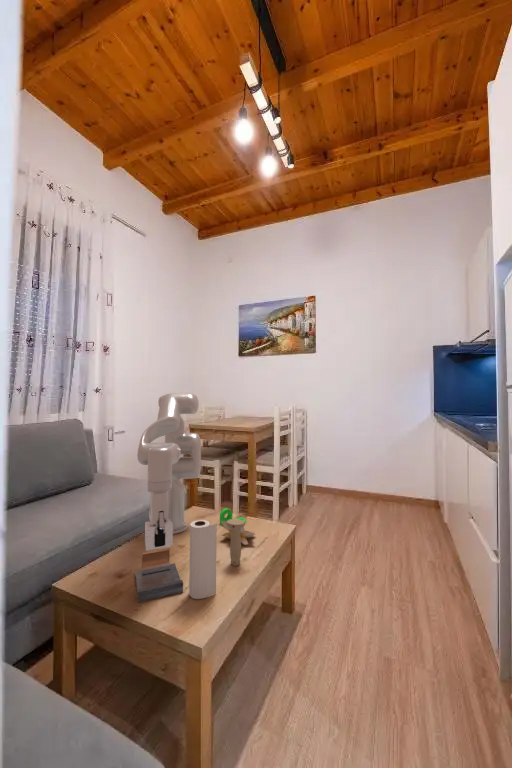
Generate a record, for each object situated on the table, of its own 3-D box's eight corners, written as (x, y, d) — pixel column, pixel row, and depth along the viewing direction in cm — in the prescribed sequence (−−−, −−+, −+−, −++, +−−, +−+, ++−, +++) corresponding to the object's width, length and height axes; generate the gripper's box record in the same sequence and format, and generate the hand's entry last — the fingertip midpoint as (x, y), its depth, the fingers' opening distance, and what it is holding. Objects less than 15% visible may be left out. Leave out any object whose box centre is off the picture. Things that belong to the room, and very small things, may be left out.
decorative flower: (263, 540, 136) (263, 516, 136) (249, 551, 126) (249, 525, 126) (232, 532, 143) (233, 509, 144) (217, 543, 133) (218, 518, 134)
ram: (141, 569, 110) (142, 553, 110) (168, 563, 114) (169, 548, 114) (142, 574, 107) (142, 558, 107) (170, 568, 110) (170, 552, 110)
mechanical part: (226, 531, 145) (226, 513, 146) (219, 526, 150) (219, 509, 150) (248, 525, 152) (248, 508, 152) (241, 521, 157) (241, 504, 157)
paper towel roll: (185, 594, 99) (185, 523, 99) (199, 585, 104) (200, 517, 104) (201, 604, 94) (202, 529, 95) (216, 594, 99) (216, 523, 100)
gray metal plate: (135, 575, 109) (135, 566, 109) (174, 567, 114) (174, 558, 114) (138, 602, 95) (138, 592, 95) (183, 592, 100) (183, 582, 100)
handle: (229, 559, 120) (229, 518, 120) (245, 562, 118) (246, 520, 119) (224, 566, 115) (225, 523, 116) (241, 568, 114) (242, 525, 114)
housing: (144, 543, 105) (145, 517, 106) (170, 539, 108) (170, 513, 109) (146, 550, 101) (146, 522, 101) (172, 546, 104) (172, 519, 104)
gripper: (145, 480, 112) (144, 533, 111) (150, 493, 96) (149, 556, 95) (167, 478, 115) (166, 530, 114) (175, 490, 99) (175, 551, 98)
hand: (158, 541), depth 105 cm, fingers closed on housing, 5 cm apart
